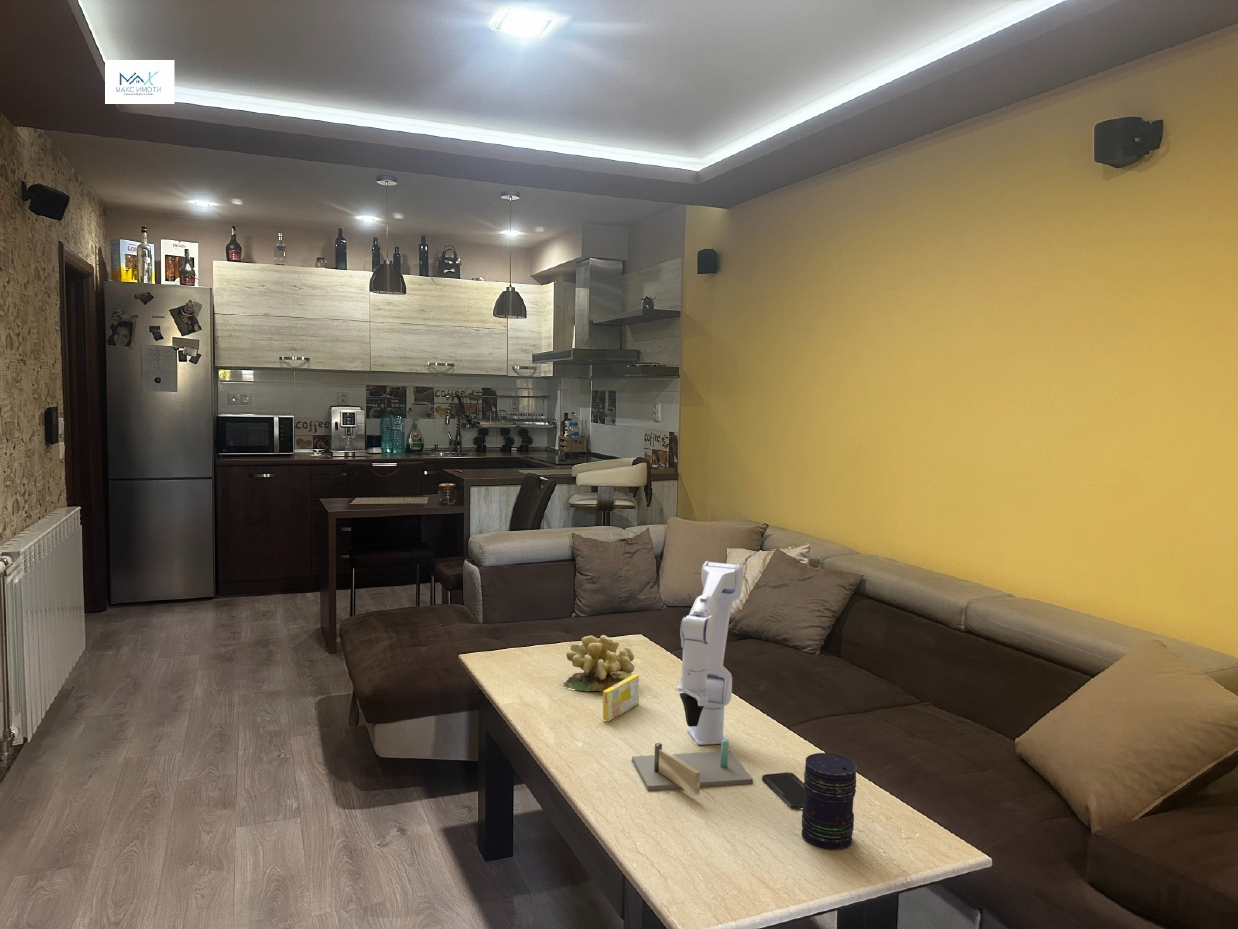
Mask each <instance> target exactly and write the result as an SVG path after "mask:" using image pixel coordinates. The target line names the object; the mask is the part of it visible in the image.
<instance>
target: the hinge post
mask: <svg viewBox="0 0 1238 929" xmlns="http://www.w3.org/2000/svg"><path fill="white" fill-rule="evenodd" d="M661 749H663V744H662V743H659V742H657V743H655V744H654V755H655V757H654V771H655V772H658V770H659V750H661Z"/></svg>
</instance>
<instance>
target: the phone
mask: <svg viewBox="0 0 1238 929" xmlns="http://www.w3.org/2000/svg"><path fill="white" fill-rule="evenodd" d="M761 781H762V782H763V783H764V784H765V785H766V784H767V785H766V786H767V787H769V789H770V790H771V791H772V790H773V791H772V792H773V793H774V794H775V795H776V796H777V797H778V798H779V799H780V800H781V801H782V803H784V804H785V805H786V804H787V805H786V807H788V808H789V809H790V808H791V809H790V810H793V809H795V810H796V809H798V810H801V809H800V808H803V805H804V802H805V789H804V781H802V780H801V779H800V778H799V777H798V776H797V775H796V774H795V773H793V772H777V773H768V774H762V778H761ZM796 811H797V810H796Z"/></svg>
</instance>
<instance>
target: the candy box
mask: <svg viewBox="0 0 1238 929" xmlns="http://www.w3.org/2000/svg"><path fill="white" fill-rule="evenodd" d="M639 676H640V675H639V674H632V675H631V676H630V677H628V678H626V679H624V680H623V681H621V682H619V683H617V684H615V685H614V686H612V687H610V688H608V689H606V690H604V691H603V692H602V693H603V694H602V720H603V719H604V720H606V721H610V720H611V719H613V720H615V719H616V718H618V717H619V716H618V715H620V716H621V715H623V714H625V713H626V712H628V711H630V710H631V709H633V708H634V706H635V707H636V706H638V705H640V694H639V693H640V686H639V684H640V682H639V681H640V677H639ZM630 708H631V709H630ZM629 709H630V710H629ZM624 712H625V713H624ZM622 713H623V714H622ZM617 716H618V717H617ZM615 717H616V718H615ZM614 718H615V719H614ZM611 721H612V720H611ZM611 721H610V722H611Z"/></svg>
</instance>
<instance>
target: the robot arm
mask: <svg viewBox="0 0 1238 929" xmlns="http://www.w3.org/2000/svg"><path fill="white" fill-rule="evenodd" d="M700 576H701V577H700V578H701V583H702V588H703V590H702V594H701V595H699V596H697V597H696V598H695V600H694V603H693V604H692V607H691V609H690V611H689V614H688V615H686V616H684V617H683V618H682V620H681V622H680V630H679V633H680V634H679V635H680V641H681V642H680V646H681V648H682V663H681V667H682V668H681V669H682V670H681V676H680V685H676V691H677V692H680V693H679V697H680V699H681V702H682V705H683V710H684V715H685V719H686V720H685V722H686V724H687V726H688V728H687V732H688V733H689V735H690V736H691V738H692V739H693V741H695V743H696V744H697V745H698V746H703V745H704V746H705V745H721V742H722V740H728V739H727V737H725V735H724V724H725V723H724V721H725V706H727V705H728V704H729V703H730V701H731V699H732V695H733V694H732V692H733V677H732V673H731V672H730V671H729V670H728V669H727V668H726V667H725V666H724V660H725V653H726V645H727V638H728V632H729V624H730V616H731V611H732V610H731V609H732V606H733V604H734V601H736V600H739V599H740V598H741V594H742V589H743V582H744V568H743V566H742V565H741V564H732V563H725V562H724V563H722V562H713V561H709V560H706V561H704V563H703V564H702V567H701V573H700Z"/></svg>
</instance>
